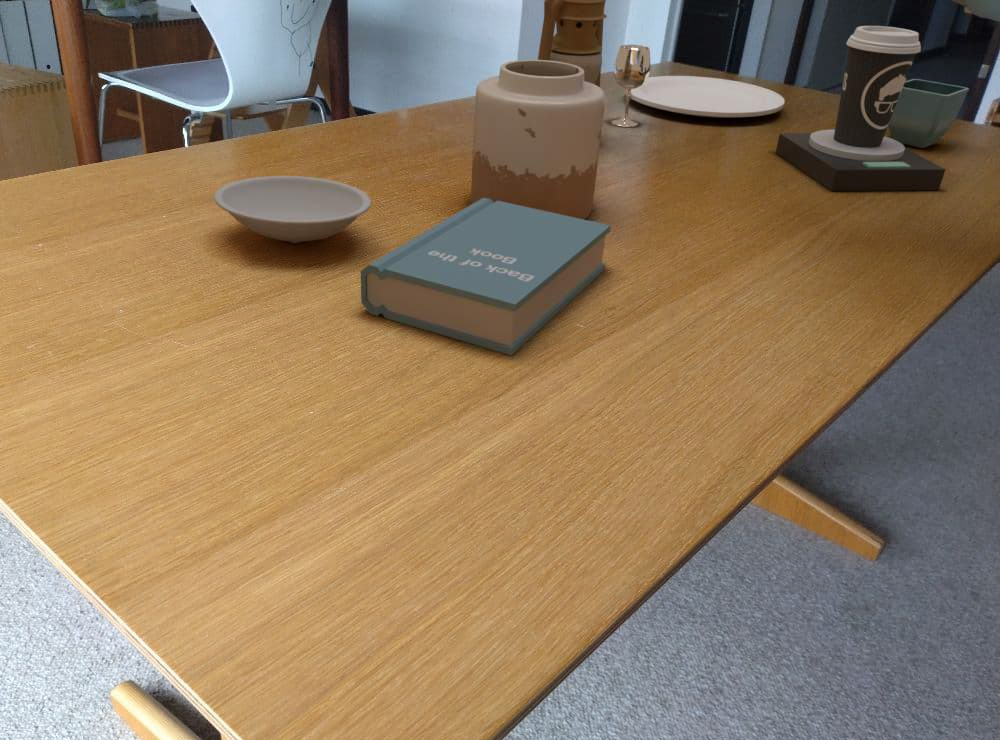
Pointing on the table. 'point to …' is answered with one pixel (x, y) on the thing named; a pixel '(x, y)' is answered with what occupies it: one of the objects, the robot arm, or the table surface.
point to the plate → (707, 97)
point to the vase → (538, 137)
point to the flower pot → (925, 112)
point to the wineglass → (631, 74)
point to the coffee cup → (873, 82)
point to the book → (487, 273)
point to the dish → (292, 206)
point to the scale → (858, 163)
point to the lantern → (574, 35)
